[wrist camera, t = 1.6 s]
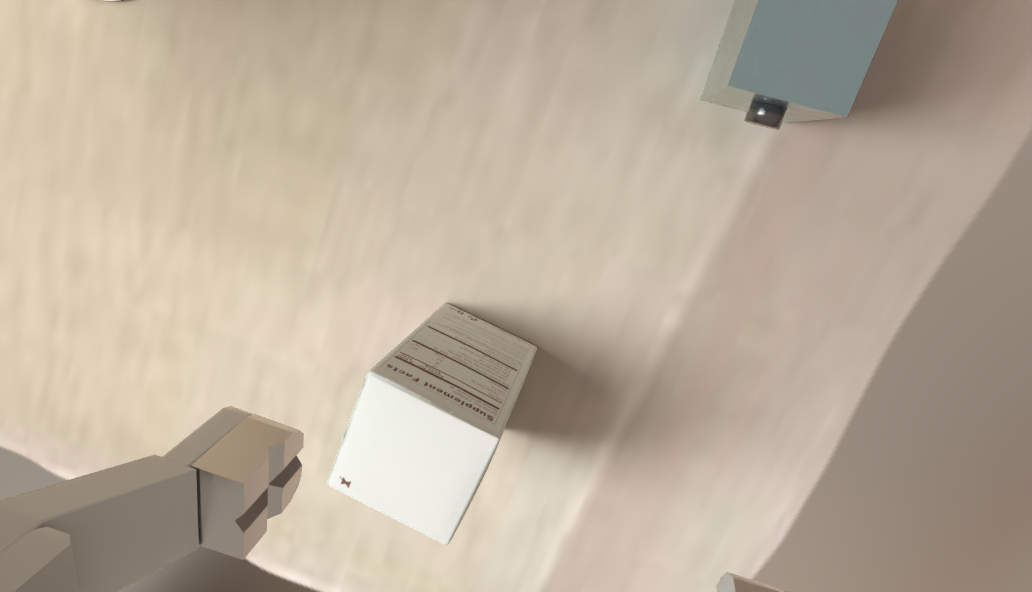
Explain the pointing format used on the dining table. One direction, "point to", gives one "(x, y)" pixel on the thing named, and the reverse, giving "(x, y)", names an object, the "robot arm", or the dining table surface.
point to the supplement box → (432, 421)
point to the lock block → (795, 58)
